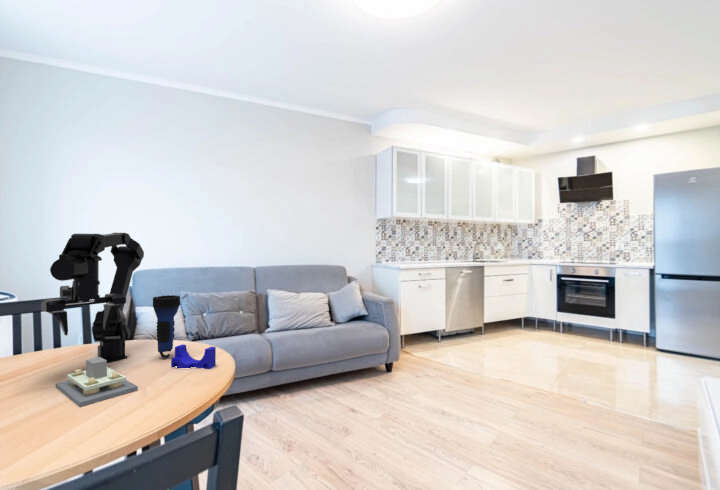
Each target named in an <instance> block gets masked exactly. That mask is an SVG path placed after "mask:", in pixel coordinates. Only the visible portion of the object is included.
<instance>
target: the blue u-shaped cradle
mask: <svg viewBox="0 0 720 490" xmlns="http://www.w3.org/2000/svg"><path fill="white" fill-rule="evenodd" d="M216 356H217V354H216V346H209V347H207V348H205V349H204V353H203V356H202V358H201V359H199V360H198V359H195V358H194V357H192V356H191V355H190V354H189V352H188V349H187V344H179V345H177V346H175V347H174V356H173V357H171V358H170V359H171V360H170V361H171V362H170V363H171V364H170V368H171V367H175V366H177V368H176V369H179V368H190V369H192V368H191V367H196V368H195V369H201V368H204V369H203V370H211V369H213V368H215V367H216V364H217V363H216V359H217V357H216Z"/></svg>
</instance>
